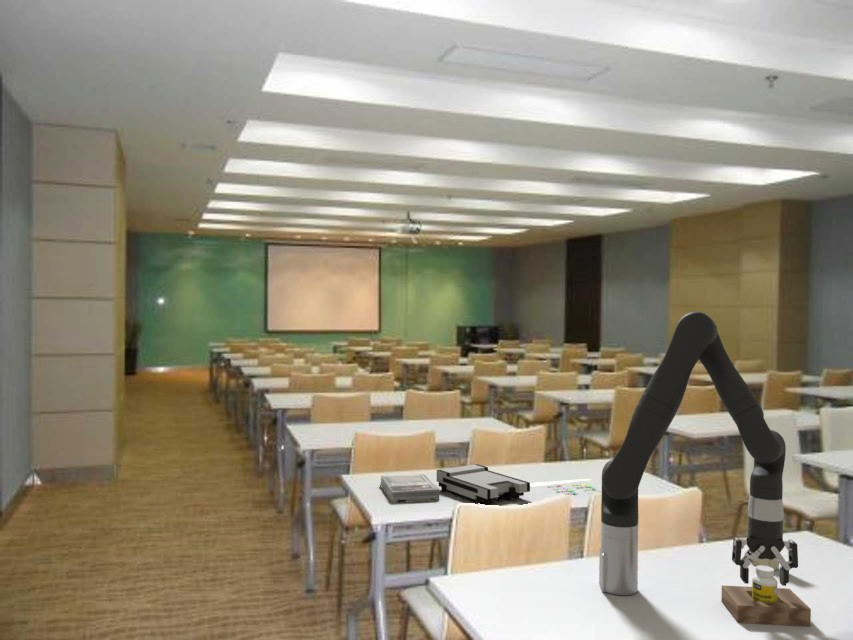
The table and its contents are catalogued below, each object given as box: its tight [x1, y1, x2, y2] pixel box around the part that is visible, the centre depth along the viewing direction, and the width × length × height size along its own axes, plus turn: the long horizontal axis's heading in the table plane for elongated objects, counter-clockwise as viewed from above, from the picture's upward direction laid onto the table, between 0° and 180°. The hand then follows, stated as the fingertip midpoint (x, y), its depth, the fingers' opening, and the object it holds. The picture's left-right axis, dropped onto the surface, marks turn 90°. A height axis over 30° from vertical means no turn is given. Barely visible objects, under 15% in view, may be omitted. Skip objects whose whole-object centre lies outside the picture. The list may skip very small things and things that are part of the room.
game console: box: [436, 463, 531, 505], centre depth 277 cm, size 21×32×8 cm, turn 34°
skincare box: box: [750, 558, 780, 571], centre depth 201 cm, size 6×4×12 cm
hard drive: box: [380, 473, 440, 503], centre depth 279 cm, size 18×27×4 cm
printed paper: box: [529, 478, 601, 495], centre depth 286 cm, size 30×30×2 cm
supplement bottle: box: [751, 565, 778, 603], centre depth 169 cm, size 5×5×10 cm
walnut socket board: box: [720, 585, 812, 627], centre depth 169 cm, size 16×12×4 cm
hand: (764, 583), depth 169 cm, fingers open, 8 cm apart
